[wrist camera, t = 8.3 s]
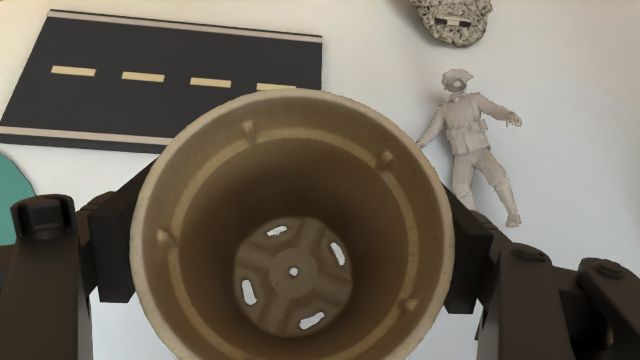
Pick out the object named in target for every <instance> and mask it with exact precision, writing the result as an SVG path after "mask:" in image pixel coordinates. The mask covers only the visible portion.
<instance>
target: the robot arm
mask: <svg viewBox="0 0 640 360" xmlns="http://www.w3.org/2000/svg"><path fill="white" fill-rule="evenodd" d="M157 158H158V157H157ZM157 158H156V159H155V160H154V161H153V162H151V163H150V164H149V165H148V166H146V167H145V168H144V169H143V170H142V171H140V172H139V173H138V174H137V175H136V176H134V177H133V178H132V179H131V180H129V181H128V182H127V183H126V184H125V185H123V186H122V187H121V188H120V189H119V190H117V191H116V192H113V191H109V192H106V193H104V194H101V195H99V196H96V197H95V198H94V199H92V200H91V201H90V202H88V203H87V205H84V206H83V207H82V208H81V209H80V211H79V210H78V211H77V212H75V207H74V201H73V199H72V197H70V196H67V195H61V194H47V195H39V196H33V197H30V198H26V199H23V200H20V201H18V202H16V203H14V204H13V205H12V206H11V207H10V211H11V216H12V220H13V224H14V229H15V233H16V237H17V238H16V241H15V244H10V245H1V246H0V360H93V344H92V321H91V305H90V299H89V295H90V293H91V292H92V291H93V290H94V289H95V287H96V286H98V293H99V299H100V302H108V303H128V302H129V300H130V299H131V297H132V296H133V294H134V293H135V291H136V290H135V286H134V282H133V277H132V273H131V264H130V258H129V253H130V245H129V242H130V229H131V223H132V218H133V214H134V210H135V207H136V202H137V199H138V195H139V193H140V190H141V187H142V185H143V184H144V182H145V179H146V177H147V175H148V174H149V171H150V169H151V167H152V166H153V164H154V163H155V161H156V160H157ZM441 184H442V185H443V187H444V189H445V192H446V195H447V197H448V201H449V204H450V208H451V212H452V219H453V226H454V234H455V261H454V266H453V273H452V280H451V282H450V288H449V291H448V293H447V295H446V298H445V300H444V303H443V304H444V306H445V308H446V310H447V312H448V314H473V310H474V307H475V303H476V300H477V298H478V299H479V301H480V302H481V304H482V305H483V307H484V308H483V311H482V315H481V318H480V322H479V325H478V329H477V332H476V336H475V339H474V340H477V341H478V348H477V359H476V360H640V279H639V278H638V277H637V276H636V275H635V274H634V273H632V272H631V271H630V270H628V269H626V268H624V267H622V266H620V264H618V263H616V262H612V261H610V260H607V259H604V260H603V259H599V258H589V257H588V258H584V259H582V260H581V262H580V265H579V267H578V270H577V271H574V270H569V269H564V268H560V267H555V266H552V262H551V260H550V258H549V256H548V255H546V254H545V253H544V252H542V251H540V250H538V249H536V248H534V247H532V246H529V245H526V244H521V243H515V242H514V243H513V242H512V241H511V240H510V239H508V238H507V237H506V236H505V235H504V234H503V233H502V232H501V231H500V230H498V228H497V227H496V226H495V225H493V224H492V222H491V221H490V220H489V219H488V218H486V217H485V216H484V215H482V214H480V213H478V212H477V211H475V210H468V209H467V208H466V207H465V206H464V205H463V204H462V203H461V202H460V201H459V199H458V198H457V197H456V196H455V195H454V194H453V193H452V192H451V191H450V190H449V189H448V188H447V187H446V186H445V185H444V184H443V183H442V182H441Z"/></svg>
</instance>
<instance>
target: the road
mask: <svg viewBox="0 0 640 360" xmlns="http://www.w3.org/2000/svg"><path fill="white" fill-rule="evenodd" d="M46 16H47V18H46V21H45V23H44V25H43V27H42V29H41V32H40V34H39V36H38V38H37V41H36V43H35V45H34V47H33V49H32V52H31V54H30V56H29V58H28V61H27V63H26V65H25V67H24V70H23V72H22V74H21V76H20V78H19V81H18V83H17V85H16V87H15V90H14V92H13V94H12V96H11V98H10V101H9V103H8V105H7V107H6V110H5V112H4V114H3V116H2V119H1V121H0V143H7V144H21V145H36V146H51V147H66V148H80V149H95V150H110V151H125V152H139V153H154V154H161V153H162V152H163V151H164V150H165V148H166V146H167V145H169V144H170V142H171V141H172V140H173V139H174V138H175V137H176V136H177V135H178V134H179V133H180V132H181V131H182V130H184V129H185V128H186V127H187V126H188V125H189V124H191V123H192V122H194V121H195V120H196V119H198V118H199V117H200V116H202V115H204V114H205V113H207V112H209V111H211V110H212V109H214V108H216V107H218V106H220V105H223V104H225V103H227V102H228V101H232V100H234V99H236V98H239V97H240V96H243V95H247V94H252V93H255V92H258V91H267V90H272V89H282V88H295V89H296V88H302V89H312V90H321V68H322V36H319V35H309V34H299V33H289V32H278V31H268V30H258V29H248V28H238V27H228V26H217V25H207V24H197V23H187V22H177V21H167V20H156V19H146V18H136V17H126V16H116V15H106V14H95V13H85V12H75V11H65V10H55V9H50V11H48V13H47V15H46Z"/></svg>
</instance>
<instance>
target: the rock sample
mask: <svg viewBox="0 0 640 360" xmlns="http://www.w3.org/2000/svg"><path fill="white" fill-rule="evenodd" d="M408 1H409V2H410V3H411V4H412V6H414V7H415V8H416V10H417V12H418V13H419V15H420V18H421V21H422V23H423V24H424V26H425V27H426V28H427V29H428V30H429V32H430V34H431V35H432V37H434V38H436V39H438V40H442V41H444V42H445V43H446V42H448V43H449V44H454V45H456V46H459V47H461V46H464V45H468V44H472V43H473V42H474V41H477V40H478V39H481V38H482V37H483V35H484V33H485V31H486V26H487V16H488V14H489V13H490V12H491V11H492V5H491V3H490V1H491V0H408Z"/></svg>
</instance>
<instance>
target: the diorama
mask: <svg viewBox="0 0 640 360" xmlns="http://www.w3.org/2000/svg"><path fill="white" fill-rule="evenodd" d="M33 196H35V195H34V192H33V190H32V188H31V185H30V183H29V182H28V181H27V180H26V178H25V177H24V176H23V175H22V173H21V172H20V171H19V169H18V168H17V167H16V166H15V164H14V163H13V162H12V161H11V160H10V159H8V158H7V157H5V156H4V155H2V154H1V153H0V246H1V245H10V244H15V241H16V238H17V237H16V233H15V229H14V224H13V220H12V216H11V211H10V207H11V206H12V205H13V204H14V203H16V202H18V201H20V200H23V199H26V198H30V197H33Z"/></svg>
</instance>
